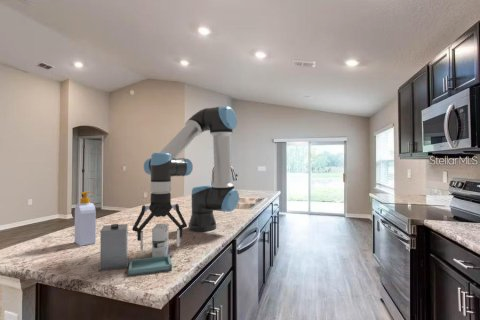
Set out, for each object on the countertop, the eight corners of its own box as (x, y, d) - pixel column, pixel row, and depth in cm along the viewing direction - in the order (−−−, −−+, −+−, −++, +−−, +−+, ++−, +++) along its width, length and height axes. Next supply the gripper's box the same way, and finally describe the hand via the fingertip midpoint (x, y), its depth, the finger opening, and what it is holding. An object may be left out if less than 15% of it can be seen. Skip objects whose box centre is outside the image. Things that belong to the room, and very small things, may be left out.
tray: (169, 260, 102) (169, 255, 102) (171, 270, 93) (171, 265, 93) (130, 265, 97) (130, 260, 97) (128, 275, 88) (128, 270, 88)
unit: (128, 258, 104) (128, 221, 104) (127, 267, 95) (127, 226, 95) (102, 261, 101) (102, 222, 101) (98, 271, 92) (98, 228, 92)
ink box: (156, 252, 111) (156, 223, 111) (169, 252, 111) (169, 223, 111) (151, 260, 102) (151, 228, 102) (165, 259, 103) (165, 228, 103)
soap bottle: (97, 243, 123) (97, 192, 123) (80, 246, 119) (80, 193, 119) (91, 239, 130) (91, 190, 130) (74, 242, 125) (74, 191, 125)
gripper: (191, 190, 114) (190, 241, 114) (126, 192, 106) (126, 247, 106) (194, 192, 107) (193, 246, 107) (125, 194, 99) (124, 253, 99)
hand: (160, 247), depth 107 cm, fingers open, 13 cm apart
